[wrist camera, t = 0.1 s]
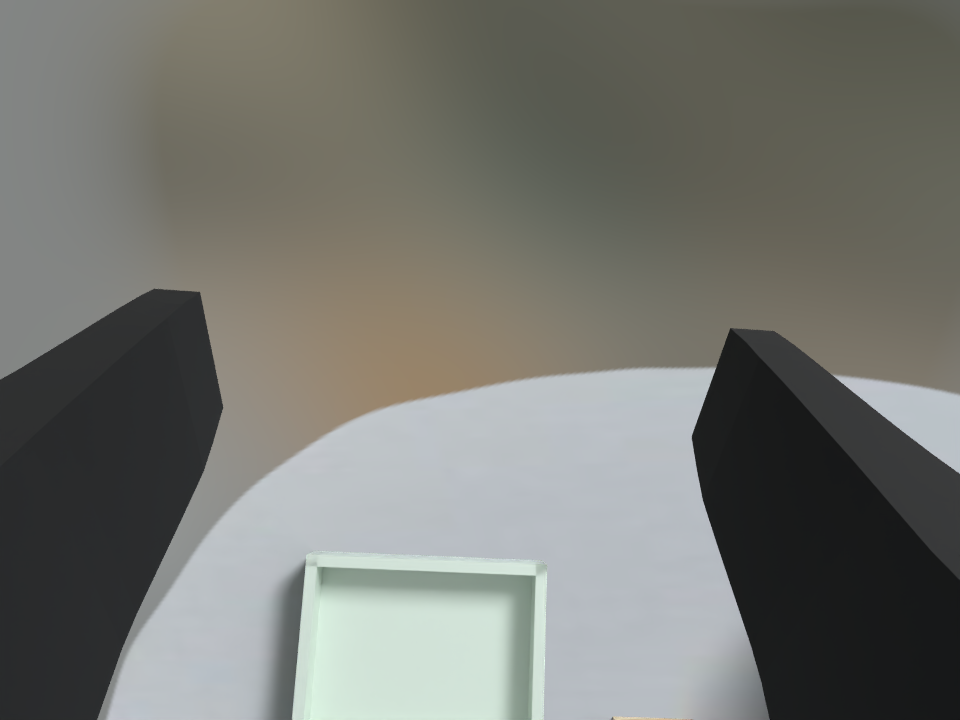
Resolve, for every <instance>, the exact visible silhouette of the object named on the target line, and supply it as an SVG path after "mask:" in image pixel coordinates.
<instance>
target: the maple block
mask: <svg viewBox="0 0 960 720" xmlns="http://www.w3.org/2000/svg"><path fill="white" fill-rule="evenodd" d="M613 720H693V719H668V718H639V717H613Z"/></svg>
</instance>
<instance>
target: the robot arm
mask: <svg viewBox="0 0 960 720" xmlns="http://www.w3.org/2000/svg"><path fill="white" fill-rule="evenodd" d="M222 410H223V404H222V399H221V394H220V389H219V384H218V379H217V375H216V370H215V365H214V360H213V355H212V350H211V345H210V340H209V335H208V330H207V325H206V320H205V315H204V310H203V305H202V300H201V295H200V292H192V291H177V290H163V289H153V290H151V291H149V292H147V293H145V294H143V295H141V296H139V297H137V298H136V299H134V300H132V301H131V302H129V303H127V304H125V305H124V306H122V307H120V308H119V309H117V310H115V311H114V312H112V313H110V314H109V315H107V316H105V317H104V318H102V319H100V320H99V321H97V322H96V323H94V324H92V325H91V326H89V327H88V328H86V329H84V330H83V331H81V332H79V333H78V334H76V335H74V336H73V337H71V338H70V339H68V340H66V341H65V342H63V343H61V344H60V345H58V346H56V347H55V348H53V349H51V350H50V351H48V352H47V353H45V354H43V355H42V356H40V357H38V358H37V359H35V360H33V361H32V362H30V363H29V364H27V365H25V366H24V367H22V368H20V369H18V370H17V371H15V372H13V373H12V374H10V375H8V376H6V377H4V378H3V379H1V380H0V720H97V718H98V715H99V713H100V710H101V707H102V704H103V701H104V698H105V695H106V692H107V690H108V687H109V684H110V681H111V678H112V675H113V673H114V670H115V667H116V664H117V661H118V658H119V656H120V653H121V650H122V647H123V645H124V643H125V640H126V638H127V636H128V633H129V631H130V628H131V626H132V624H133V621H134V619H135V617H136V614H137V612H138V610H139V608H140V606H141V604H142V602H143V599H144V597H145V595H146V593H147V591H148V589H149V587H150V584H151V582H152V580H153V578H154V576H155V574H156V572H157V570H158V568H159V565H160V564H161V561H162V559H163V557H164V555H165V553H166V551H167V549H168V547H169V545H170V542H171V540H172V538H173V536H174V534H175V532H176V530H177V527H178V525H179V523H180V521H181V519H182V517H183V515H184V513H185V511H186V508H187V506H188V504H189V502H190V500H191V497H192V495H193V493H194V491H195V489H196V487H197V485H198V482H199V480H200V478H201V476H202V473H203V471H204V469H205V465H206V462H207V459H208V456H209V453H210V450H211V447H212V444H213V441H214V437H215V434H216V430H217V427H218V423H219V420H220V416H221V413H222ZM692 442H693V448H694V454H695V460H696V466H697V472H698V477H699V482H700V487H701V492H702V498H703V502H704V505H705V508H706V511H707V514H708V518H709V521H710V524H711V527H712V530H713V533H714V536H715V539H716V542H717V545H718V548H719V551H720V554H721V557H722V560H723V563H724V566H725V569H726V572H727V575H728V578H729V581H730V584H731V587H732V590H733V593H734V596H735V599H736V602H737V605H738V608H739V611H740V614H741V617H742V620H743V623H744V626H745V629H746V632H747V635H748V638H749V641H750V644H751V647H752V651H753V654H754V658H755V661H756V664H757V668H758V671H759V675H760V678H761V682H762V687H763V691H764V696H765V700H766V705H767V709H768V714H769V718H770V720H960V474H959V473H958V472H956V471H955V470H954V469H952V468H951V467H949V466H948V465H947V464H945V463H944V462H942V461H941V460H940V459H938V458H937V457H935V456H934V455H933V454H931V453H930V452H929V451H927V450H926V449H925V448H924V447H922V446H921V445H920V444H918V443H917V442H916V441H914V440H913V439H912V438H910V437H909V436H908V435H906V434H905V433H904V432H903V431H901V430H900V429H899V428H897V427H896V426H895V425H894V424H892V423H891V422H890V421H888V420H887V419H886V418H885V417H883V416H882V415H881V414H880V413H878V412H877V411H876V410H875V409H873V408H872V407H871V406H870V405H868V404H867V403H866V402H865V401H863V400H862V399H861V398H860V397H858V396H857V395H856V394H855V393H853V392H852V391H851V390H850V389H848V388H847V387H846V386H845V385H844V384H842V383H841V382H840V381H839V380H837V379H836V378H835V377H834V376H832V375H831V374H830V373H829V372H828V371H826V370H825V369H824V368H823V367H821V366H820V365H819V364H818V363H816V362H815V361H814V360H813V359H811V358H810V357H809V356H807V355H806V354H805V353H804V352H802V351H801V350H800V349H798V348H797V347H796V346H795V345H793V344H792V343H790V342H789V341H788V340H786V339H785V338H783V337H782V336H781V335H779V334H778V333H776V332H774V331H763V330H748V329H733V328H730V331H729V334H728V336H727V339H726V342H725V345H724V348H723V350H722V353H721V356H720V359H719V362H718V364H717V367H716V370H715V373H714V376H713V378H712V381H711V384H710V387H709V390H708V392H707V395H706V398H705V401H704V404H703V406H702V409H701V412H700V415H699V418H698V420H697V423H696V426H695V429H694V432H693V434H692Z"/></svg>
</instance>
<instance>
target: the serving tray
mask: <svg viewBox="0 0 960 720" xmlns="http://www.w3.org/2000/svg"><path fill="white" fill-rule="evenodd" d="M546 588H547V564H545V563H544V562H543V561H541V560H518V559H494V558H470V557H447V556H423V555H399V554H376V553H352V552H328V551H314V552H312V553H309V554H307V556H306V567H305V578H304V590H303V601H302V612H301V623H300V635H299V646H298V657H297V668H296V679H295V691H294V702H293V713H292V720H543V712H544V671H545V630H546Z"/></svg>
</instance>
